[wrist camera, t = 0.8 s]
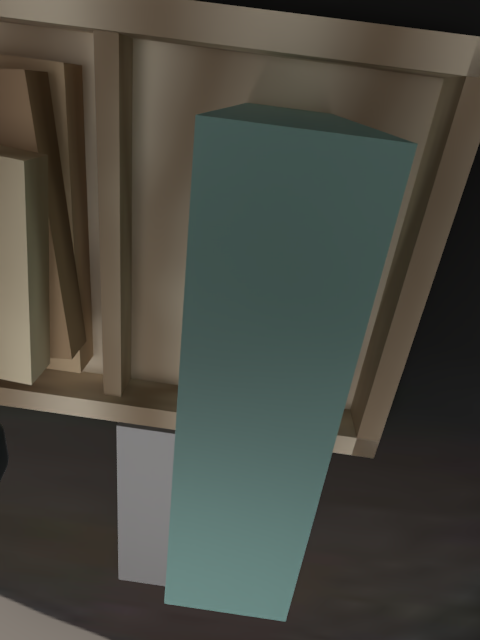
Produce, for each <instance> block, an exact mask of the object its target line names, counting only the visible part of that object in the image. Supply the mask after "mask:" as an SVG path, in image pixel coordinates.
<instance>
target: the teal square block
mask: <svg viewBox="0 0 480 640" xmlns="http://www.w3.org/2000/svg"><path fill="white" fill-rule="evenodd" d="M417 145H418V144H417V143H414V142H411V141H408V140H405V139H402V138H400V137H397V136H394V135H391V134H388V133H385V132H382V131H380V130H377V129H374V128H371V127H368V126H365V125H362V124H359V123H357V122H354V121H351V120H348V119H345V118H342V117H339V116H337V115H334V114H330V113H322V112H315V111H307V110H299V109H291V108H284V107H276V106H268V105H261V104H253V103H244V104H239V105H235V106H231V107H227V108H222V109H218V110H214V111H210V112H205V113H201V114H197V115H195V130H194V146H193V161H192V177H191V193H190V209H189V224H188V240H187V256H186V271H185V287H184V303H183V318H182V334H181V350H180V366H179V381H178V397H177V413H176V428H175V444H174V460H173V475H172V491H171V507H170V523H169V538H168V554H167V570H166V585H165V601H164V604H171V605H178V606H185V607H191V608H198V609H205V610H211V611H218V612H225V613H231V614H238V615H245V616H251V617H258V618H265V619H272V620H278V621H285V622H286V618H287V614H288V611H289V607H290V604H291V600H292V596H293V593H294V589H295V585H296V582H297V578H298V575H299V571H300V567H301V564H302V560H303V557H304V553H305V549H306V546H307V542H308V539H309V535H310V531H311V528H312V524H313V520H314V517H315V513H316V510H317V506H318V502H319V499H320V495H321V492H322V488H323V484H324V481H325V477H326V473H327V470H328V466H329V463H330V459H331V455H332V452H333V448H334V445H335V441H336V437H337V434H338V430H339V427H340V423H341V419H342V416H343V412H344V408H345V405H346V401H347V398H348V394H349V390H350V387H351V383H352V380H353V376H354V372H355V369H356V365H357V362H358V358H359V354H360V351H361V347H362V343H363V340H364V336H365V333H366V329H367V325H368V322H369V318H370V315H371V311H372V307H373V304H374V300H375V296H376V293H377V289H378V286H379V282H380V278H381V275H382V271H383V268H384V264H385V260H386V257H387V253H388V250H389V246H390V242H391V239H392V235H393V231H394V228H395V224H396V221H397V217H398V213H399V210H400V206H401V203H402V199H403V195H404V192H405V188H406V185H407V181H408V177H409V174H410V170H411V166H412V163H413V159H414V156H415V152H416V148H417Z"/></svg>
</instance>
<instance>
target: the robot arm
mask: <svg viewBox="0 0 480 640" xmlns="http://www.w3.org/2000/svg"><path fill="white" fill-rule="evenodd" d="M8 458H9V457H8V450H7V444H6V438H5V432H4V428H3V426H2V424H1V423H0V481H1V479H2V477H3V474H4V472H5V470H6V468H7V465H8Z"/></svg>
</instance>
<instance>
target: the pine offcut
mask: <svg viewBox="0 0 480 640" xmlns="http://www.w3.org/2000/svg"><path fill="white" fill-rule="evenodd" d="M49 364H50V306H49V209H48V155H46V154H42V153H37V152H32V151H27V150H22V149H17V148H13V147H8V146H3V145H0V379H3V380H8V381H13V382H18V383H23V384H28V385H32V384H33V383H34V382H35V381H36V379H37V378H38V377H39V376H40V375H41V374H42V372H43V371H44V370H45V369H46V368H47V367H48V365H49Z"/></svg>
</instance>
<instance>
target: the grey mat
mask: <svg viewBox="0 0 480 640" xmlns="http://www.w3.org/2000/svg"><path fill="white" fill-rule="evenodd" d="M174 444H175V430H172V429H165V428H158V427H151V426H144V425H137V424H130V423H123V422H118V424H117V494H118V571H119V579H120V580H127V581H134V582H140V583H147V584H154V585H160V586H165V585H166V570H167V554H168V538H169V523H170V507H171V491H172V475H173V460H174Z"/></svg>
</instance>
